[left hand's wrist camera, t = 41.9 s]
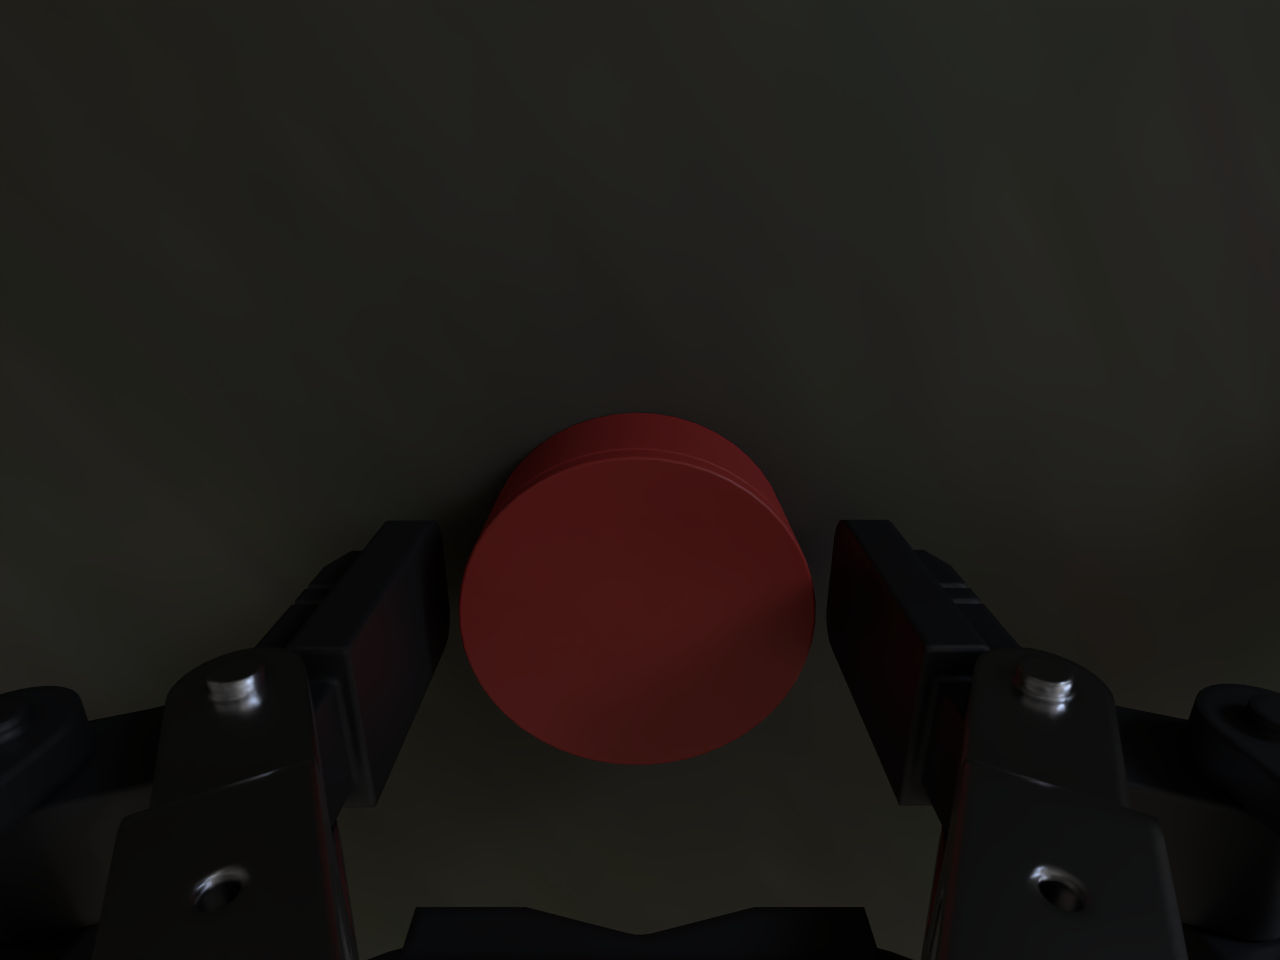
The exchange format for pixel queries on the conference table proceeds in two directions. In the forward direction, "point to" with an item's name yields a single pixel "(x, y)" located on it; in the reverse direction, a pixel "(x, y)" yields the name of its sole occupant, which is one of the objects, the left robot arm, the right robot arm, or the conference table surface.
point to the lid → (637, 593)
